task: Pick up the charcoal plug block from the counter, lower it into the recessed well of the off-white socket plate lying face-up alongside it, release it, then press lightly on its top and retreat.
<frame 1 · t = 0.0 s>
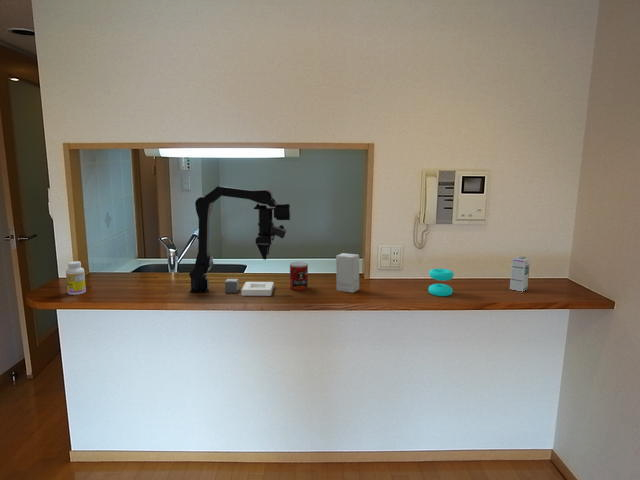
hand: (266, 257, 185), 15 cm above the table, tool pointing down, fingers open, 9 cm apart
socket plate: (258, 291, 187), on the table
skincare box: (347, 290, 190), on the table
donuts: (440, 294, 187), on the table
syrup box: (518, 290, 193), on the table
supplement bottle: (76, 293, 182), on the table
plug: (232, 291, 187), on the table
canned food: (298, 288, 192), on the table
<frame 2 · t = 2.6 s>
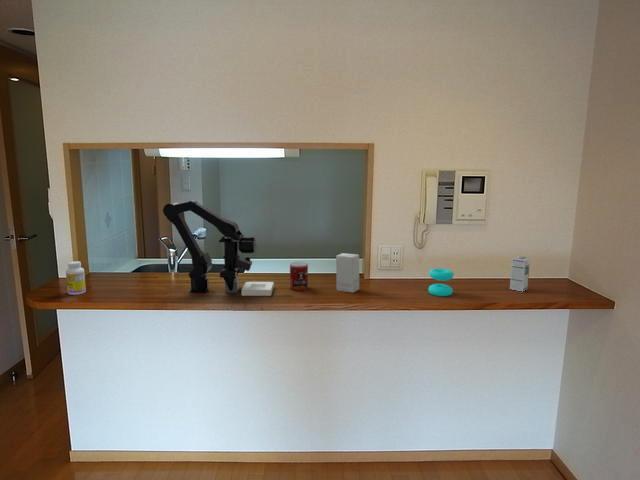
hand: (232, 288, 186), 1 cm above the table, tool pointing down, fingers closed on plug, 4 cm apart
plug: (232, 291, 187), on the table, touching gripper
everything else where it was.
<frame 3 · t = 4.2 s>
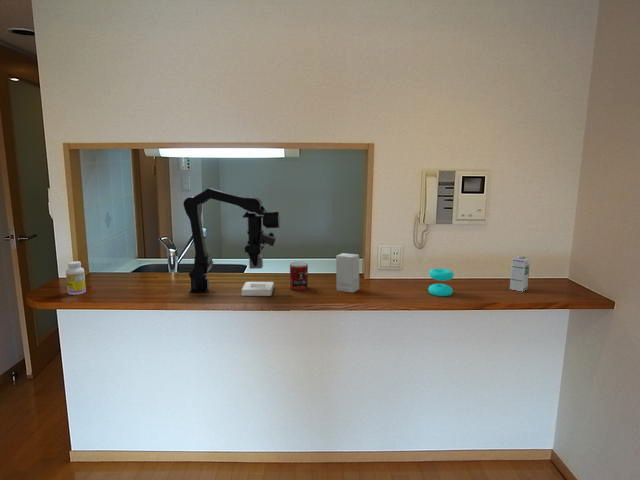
hand: (256, 265, 185), 11 cm above the table, tool pointing down, fingers closed on plug, 4 cm apart
plug: (256, 267, 185), point 10 cm above the table, touching gripper
everything else where it was.
when the fingers open (3 cm above the table, at t = 6.1 s): plug drops 1 cm, resting on socket plate.
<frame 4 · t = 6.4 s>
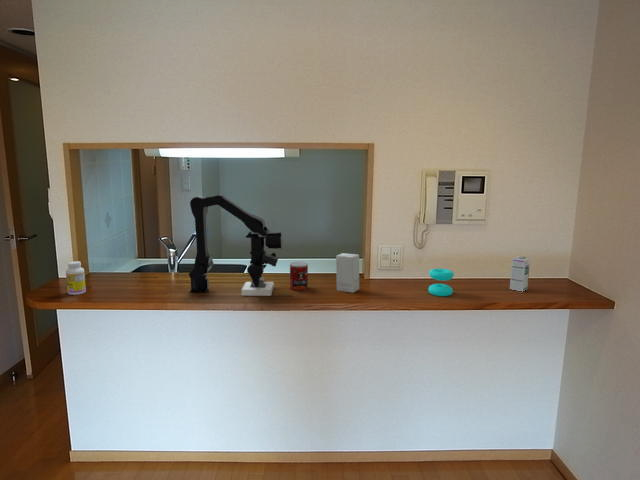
hand: (258, 284, 186), 3 cm above the table, tool pointing down, fingers open, 7 cm apart
plug: (258, 290, 187), point 1 cm above the table, touching socket plate
everything else where it was.
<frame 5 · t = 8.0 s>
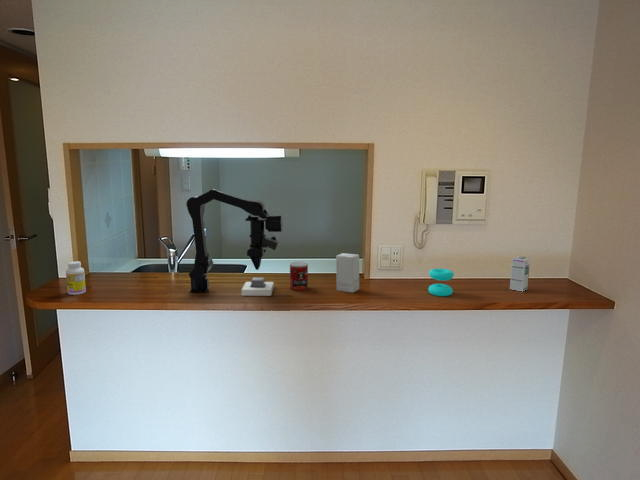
hand: (257, 268, 185), 10 cm above the table, tool pointing down, fingers open, 4 cm apart
nothing on the table moved.
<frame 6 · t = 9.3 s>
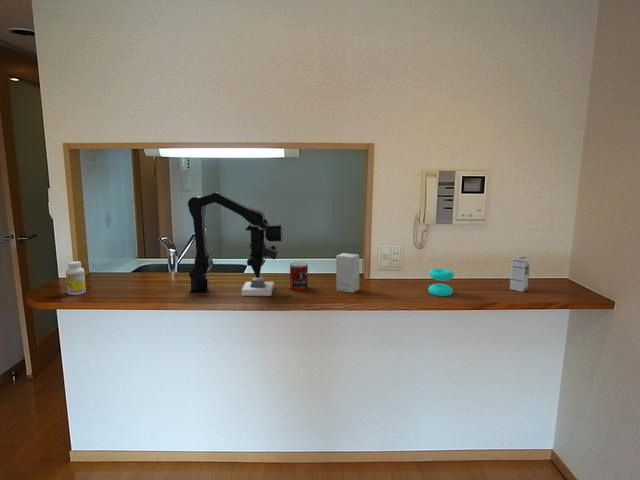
hand: (257, 277, 186), 6 cm above the table, tool pointing down, fingers closed
nothing on the table moved.
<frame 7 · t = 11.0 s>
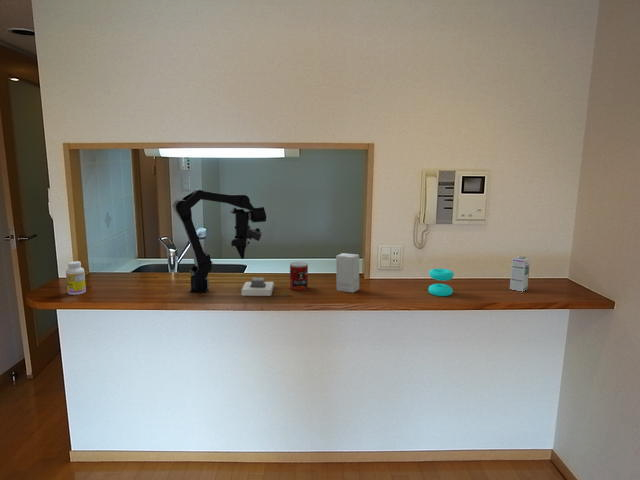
hand: (242, 258, 194), 12 cm above the table, tool pointing down, fingers closed
nothing on the table moved.
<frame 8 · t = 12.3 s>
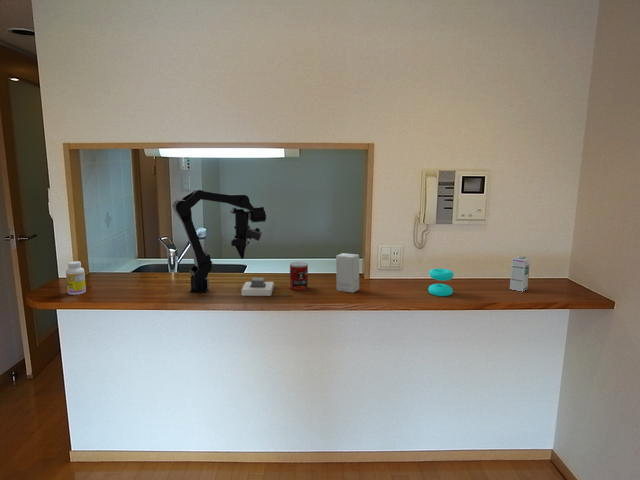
hand: (242, 258, 194), 12 cm above the table, tool pointing down, fingers closed
nothing on the table moved.
at the end: plug 0.0 cm off-centre on the socket plate, point 0.6 cm above the socket plate's base; plug tilted 0°; the gripper is holding nothing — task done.
